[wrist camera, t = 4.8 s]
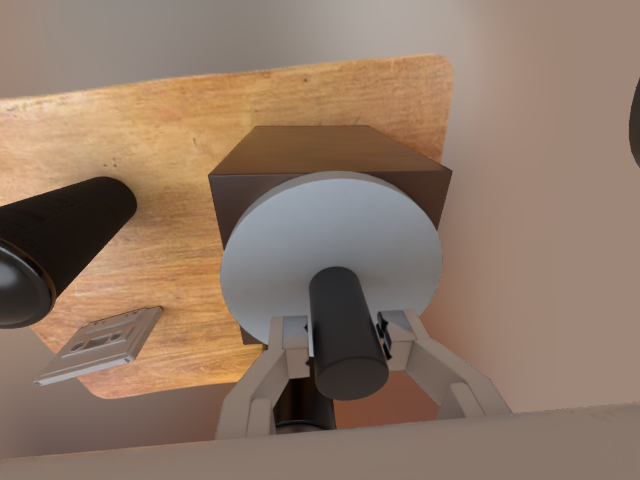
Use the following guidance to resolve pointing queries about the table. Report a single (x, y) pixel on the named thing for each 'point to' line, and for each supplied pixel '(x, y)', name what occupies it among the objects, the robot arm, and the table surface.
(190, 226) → the table surface
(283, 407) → the thermos
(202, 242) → the table surface
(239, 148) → the riser
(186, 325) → the table surface
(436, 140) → the table surface
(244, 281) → the lid
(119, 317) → the cassette
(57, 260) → the drinking cup
